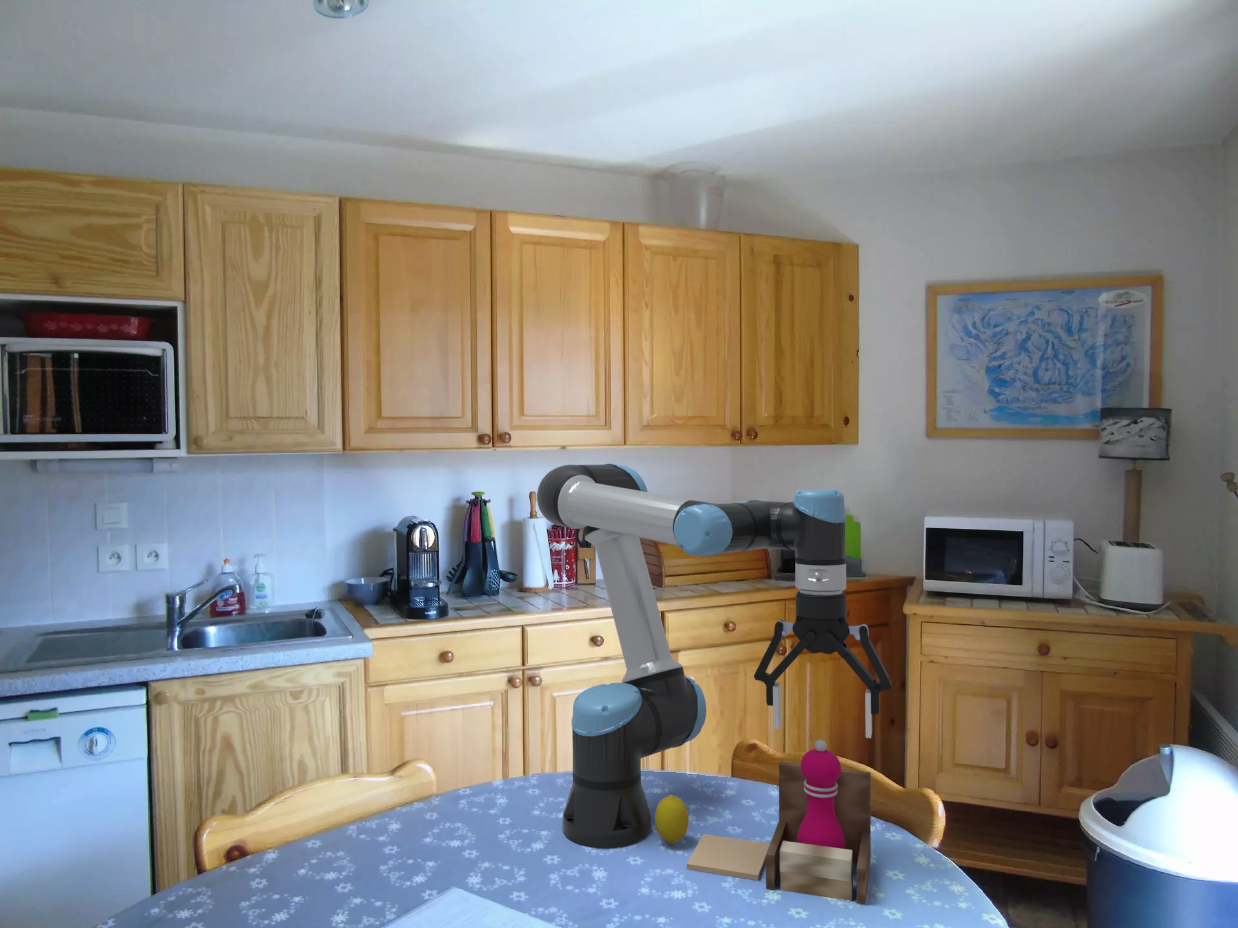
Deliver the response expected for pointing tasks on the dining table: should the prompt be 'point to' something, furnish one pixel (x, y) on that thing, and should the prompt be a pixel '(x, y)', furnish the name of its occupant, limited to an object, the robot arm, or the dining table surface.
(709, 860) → the cork mat
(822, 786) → the pepper mill
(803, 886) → the offcut bottom
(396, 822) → the dining table surface
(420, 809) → the dining table surface
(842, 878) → the offcut top
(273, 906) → the dining table surface
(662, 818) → the lemon
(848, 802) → the rack
